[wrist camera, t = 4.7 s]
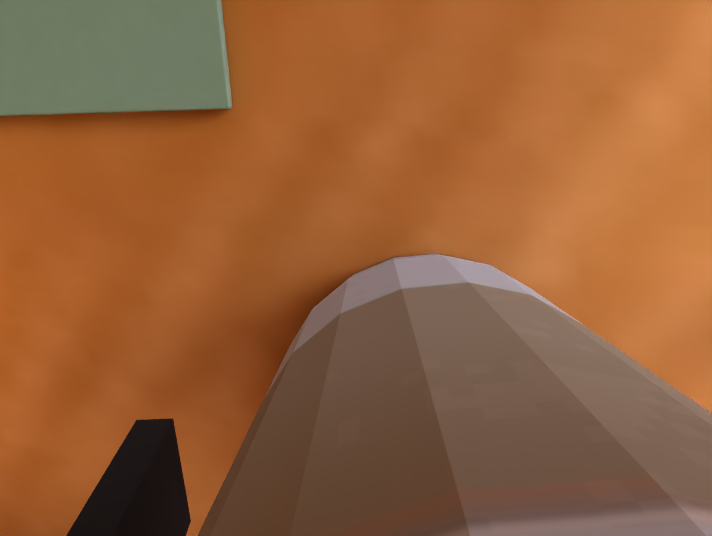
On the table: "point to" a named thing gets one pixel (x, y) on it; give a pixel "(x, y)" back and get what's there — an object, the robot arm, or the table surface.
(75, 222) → the table surface
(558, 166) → the table surface
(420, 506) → the coffee cup
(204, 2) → the cloth
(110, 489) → the robot arm
